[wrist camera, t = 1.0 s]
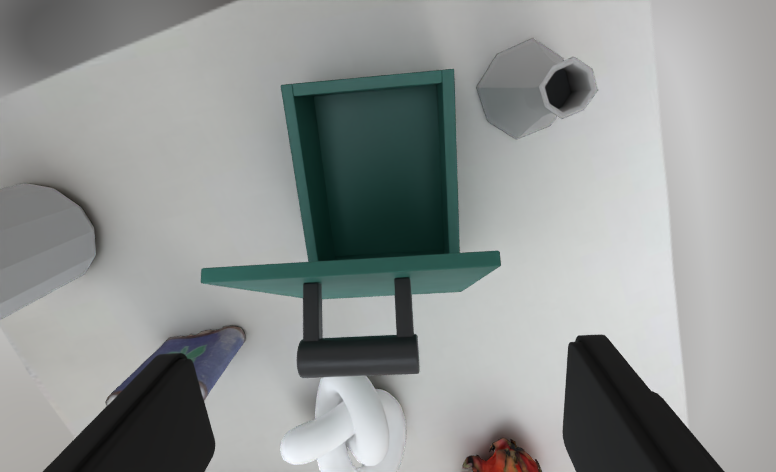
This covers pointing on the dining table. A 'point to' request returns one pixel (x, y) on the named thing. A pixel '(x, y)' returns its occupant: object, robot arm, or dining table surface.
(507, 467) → the dragon fruit
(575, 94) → the flask
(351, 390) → the white decorative knot
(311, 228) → the box
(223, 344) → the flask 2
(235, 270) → the lunchbox lid
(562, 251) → the dining table surface
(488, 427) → the dining table surface
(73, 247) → the jar
